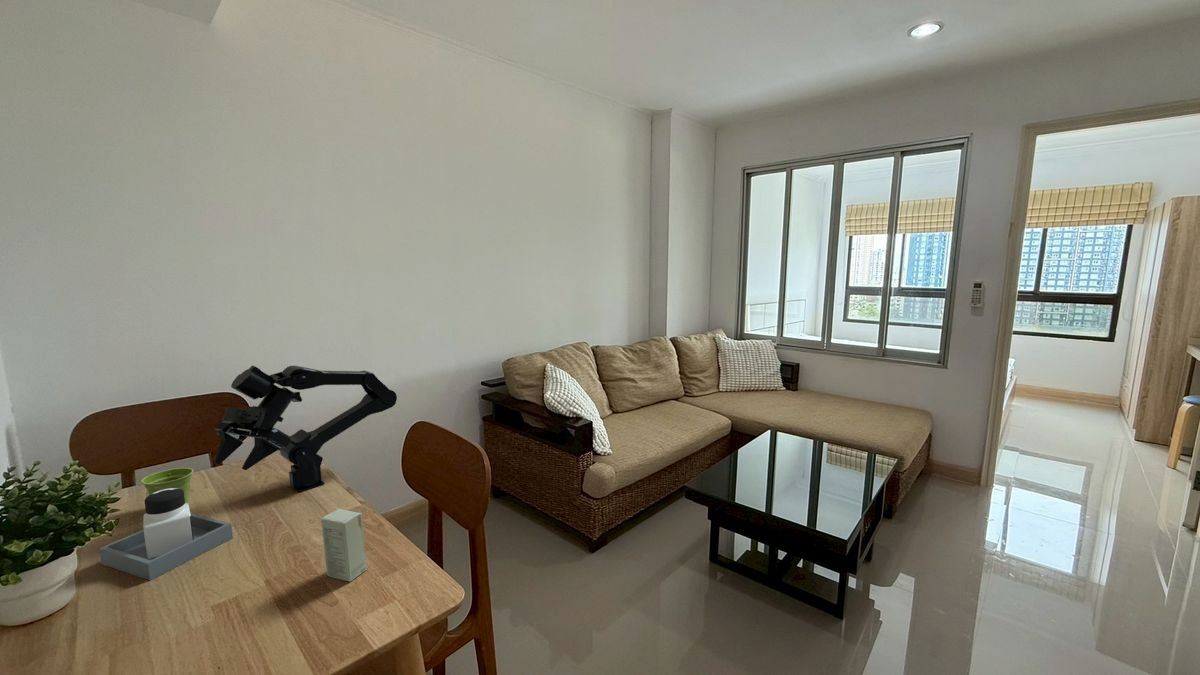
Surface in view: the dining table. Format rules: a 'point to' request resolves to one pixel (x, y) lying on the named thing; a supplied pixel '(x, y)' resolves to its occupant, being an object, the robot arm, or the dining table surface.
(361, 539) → the skincare box
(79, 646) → the dining table surface
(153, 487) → the plant pot
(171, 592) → the dining table surface
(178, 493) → the medicine bottle
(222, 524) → the tray
